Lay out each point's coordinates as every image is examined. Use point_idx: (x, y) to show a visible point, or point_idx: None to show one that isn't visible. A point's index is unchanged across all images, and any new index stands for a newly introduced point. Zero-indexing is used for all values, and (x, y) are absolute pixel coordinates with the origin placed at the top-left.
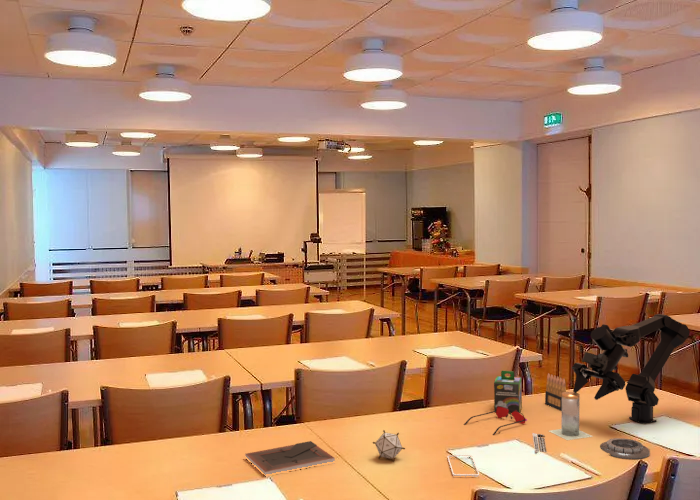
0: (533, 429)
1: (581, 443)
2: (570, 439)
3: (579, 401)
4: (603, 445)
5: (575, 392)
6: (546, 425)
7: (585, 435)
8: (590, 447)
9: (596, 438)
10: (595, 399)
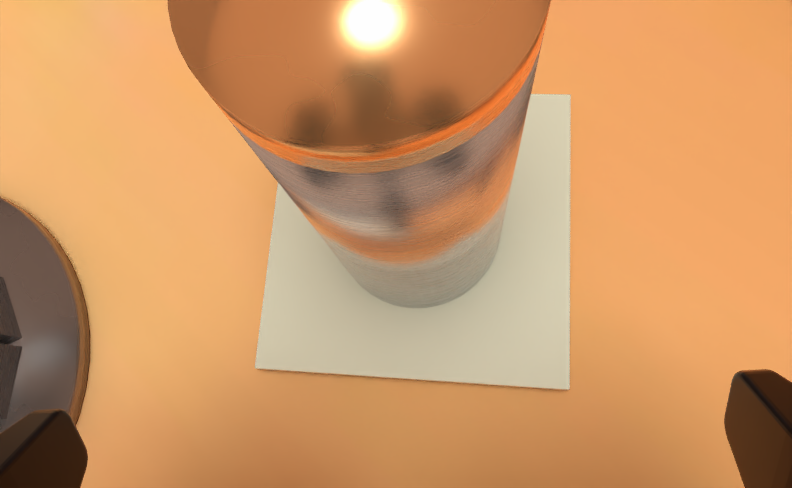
0: (697, 43)
1: (214, 181)
2: None
3: (258, 155)
4: (26, 259)
5: (733, 429)
6: (771, 221)
7: (308, 318)
8: (110, 183)
9: (243, 395)
10: (76, 442)
